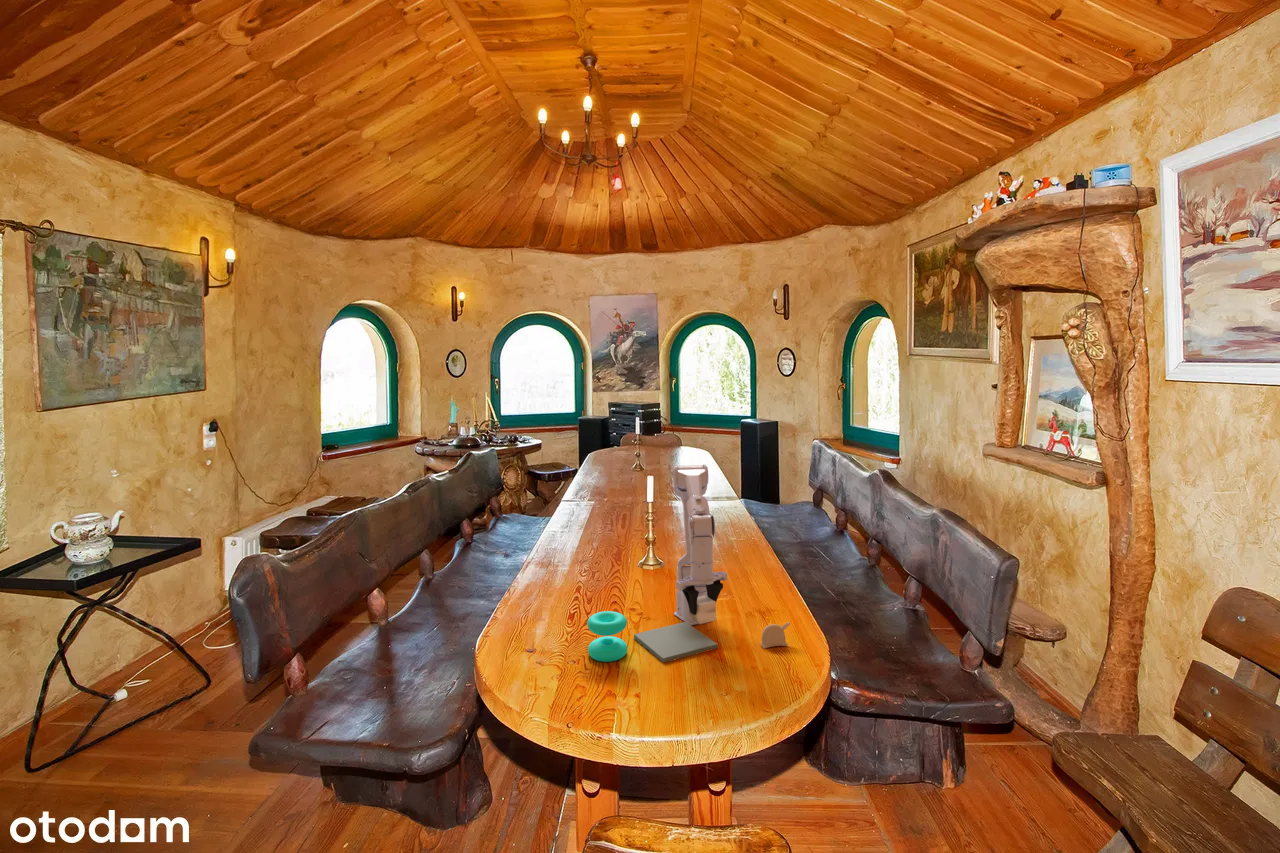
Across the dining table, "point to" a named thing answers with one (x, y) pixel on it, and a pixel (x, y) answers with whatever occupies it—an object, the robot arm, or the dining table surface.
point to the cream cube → (704, 610)
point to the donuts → (607, 636)
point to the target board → (675, 641)
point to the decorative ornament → (774, 635)
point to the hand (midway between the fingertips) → (702, 611)
